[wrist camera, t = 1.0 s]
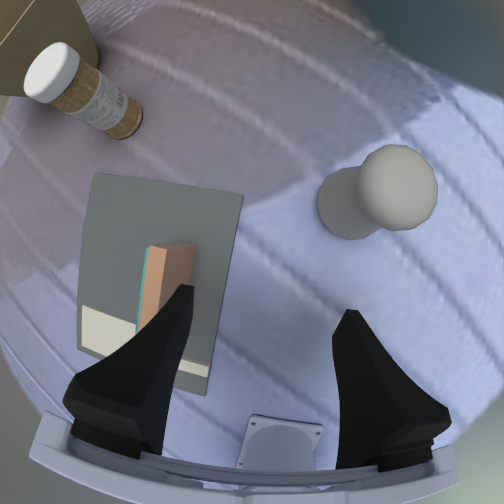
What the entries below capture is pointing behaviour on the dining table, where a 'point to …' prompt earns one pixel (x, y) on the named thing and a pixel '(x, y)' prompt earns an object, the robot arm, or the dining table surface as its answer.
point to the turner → (121, 337)
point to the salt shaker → (379, 194)
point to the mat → (152, 233)
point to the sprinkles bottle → (81, 91)
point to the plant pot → (38, 37)
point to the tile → (163, 276)
